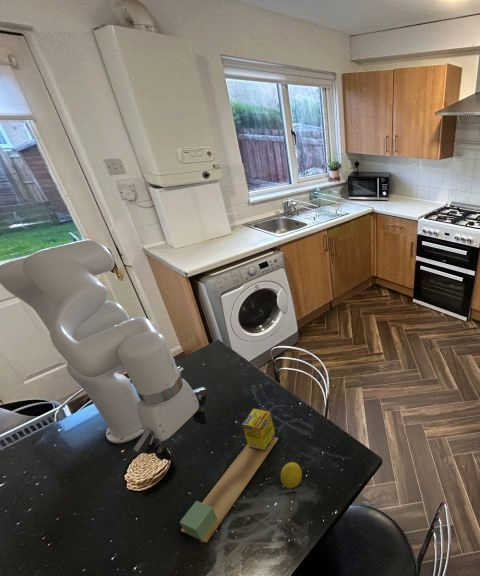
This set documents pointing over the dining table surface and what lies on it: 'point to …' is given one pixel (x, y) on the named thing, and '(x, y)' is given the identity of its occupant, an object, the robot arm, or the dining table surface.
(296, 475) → the lemon
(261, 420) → the supplement box
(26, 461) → the dining table surface
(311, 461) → the dining table surface
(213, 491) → the wooden strip
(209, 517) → the green block
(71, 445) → the dining table surface
